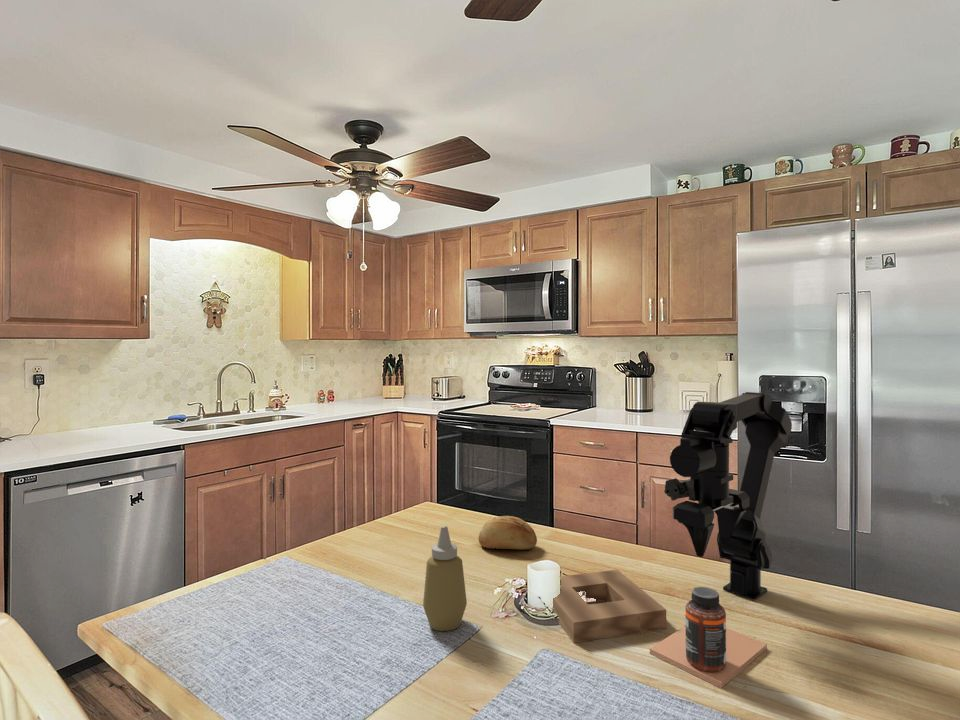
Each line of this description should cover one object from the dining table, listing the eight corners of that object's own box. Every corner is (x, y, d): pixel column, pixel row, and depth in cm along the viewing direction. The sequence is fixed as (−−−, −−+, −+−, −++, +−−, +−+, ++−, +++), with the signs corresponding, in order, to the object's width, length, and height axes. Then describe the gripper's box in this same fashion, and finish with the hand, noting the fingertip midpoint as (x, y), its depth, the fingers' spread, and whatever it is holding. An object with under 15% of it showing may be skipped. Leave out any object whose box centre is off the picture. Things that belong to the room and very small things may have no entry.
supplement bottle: (734, 666, 84) (734, 595, 84) (709, 678, 81) (709, 604, 81) (702, 648, 89) (702, 580, 89) (677, 658, 87) (677, 589, 86)
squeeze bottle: (423, 614, 103) (422, 520, 103) (465, 612, 104) (464, 519, 104) (422, 636, 95) (421, 535, 95) (468, 634, 96) (467, 533, 96)
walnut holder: (617, 585, 115) (617, 569, 115) (666, 628, 97) (666, 609, 97) (537, 596, 110) (537, 579, 110) (573, 642, 93) (573, 622, 93)
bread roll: (535, 557, 131) (535, 524, 131) (475, 554, 133) (474, 521, 133) (537, 543, 141) (537, 512, 140) (481, 540, 143) (480, 510, 143)
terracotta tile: (698, 621, 100) (698, 617, 100) (766, 648, 91) (766, 644, 91) (649, 653, 89) (649, 648, 89) (721, 688, 80) (721, 682, 80)
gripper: (696, 455, 114) (696, 528, 115) (647, 468, 102) (647, 550, 103) (750, 464, 106) (750, 543, 106) (703, 479, 94) (703, 568, 94)
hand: (712, 550), depth 103 cm, fingers open, 9 cm apart
